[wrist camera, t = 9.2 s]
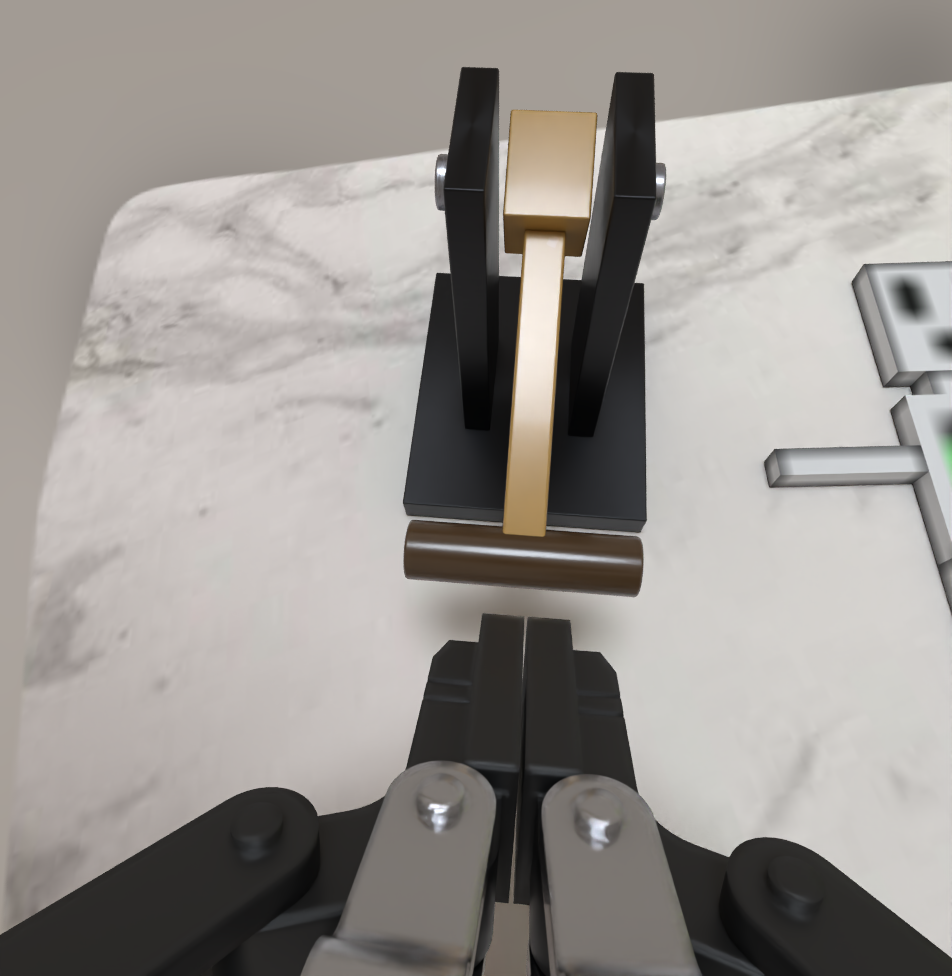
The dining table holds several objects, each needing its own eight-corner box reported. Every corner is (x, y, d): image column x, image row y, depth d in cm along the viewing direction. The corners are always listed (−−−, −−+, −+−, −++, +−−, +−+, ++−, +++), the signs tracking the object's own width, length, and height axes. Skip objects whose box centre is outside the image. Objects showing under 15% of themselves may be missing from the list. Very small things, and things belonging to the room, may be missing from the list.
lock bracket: (640, 532, 26) (756, 318, 14) (406, 515, 27) (334, 296, 15) (639, 301, 30) (726, -6, 19) (438, 290, 31) (402, -13, 19)
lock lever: (628, 593, 19) (645, 602, 16) (413, 575, 19) (398, 581, 17) (654, 165, 20) (673, 114, 17) (446, 157, 20) (437, 106, 18)
